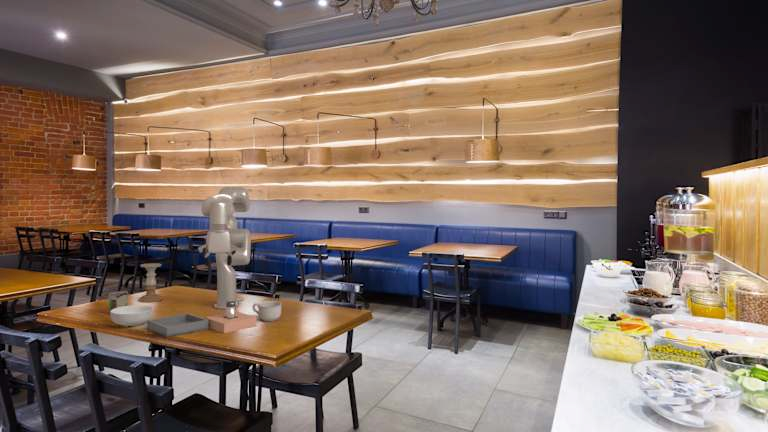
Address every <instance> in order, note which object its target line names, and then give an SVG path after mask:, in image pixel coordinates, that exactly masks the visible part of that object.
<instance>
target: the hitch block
mask: <svg viewBox="0 0 768 432" xmlns="http://www.w3.org/2000/svg"><path fill="white" fill-rule="evenodd" d="M204 319H207V320H208V329H211V330H214V331H217V332H220V333H223V334H227V333H232V332H235V331H240V330H245V329H248V328H253V327H257V323H258V322H257V317H256V316H254V315H252V314H251V315H250V314H247V313H243V312H240V311H238V310H237V311H236V313H235V318H233V319H226V312H225V313H223V314H222V313H221V314H215V315H211V316H210V315H209V316H205V317H204Z"/></svg>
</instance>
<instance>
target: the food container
mask: <svg viewBox="0 0 768 432" xmlns="http://www.w3.org/2000/svg"><path fill="white" fill-rule="evenodd" d="M128 296H129V292H128V290H125V291H124V290H123V291H121V290H120V291H114V292H111V293H108V295H107V300H108V302H109V312H110V311H111V310H112V309H115V308H118V307H124V306H128Z"/></svg>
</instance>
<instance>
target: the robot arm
mask: <svg viewBox="0 0 768 432" xmlns="http://www.w3.org/2000/svg"><path fill="white" fill-rule="evenodd" d="M249 210H250V197H249V192H248V190H247V189H246V188H245V187H242V186H224V187H221V188H220V190H219V192H218V194H214V195H211V196H208V197H206V198H205V199H204V200H203V202H202V205H201V214H202V215H203V216H204V217H205V218H209V231H208V230H207V234H206V238H205V240H206V242H205V244H203V245H201V246H199V247H198V248H197V250H198V252H199V253H200V254H201V256H202V257H203V258H204V259H203V260H204V262H203V263H204V266H205V267H210V263H209V262H210V258H209V256H210V255H211V254H215V262H216V268H217V270H216V272H217V274H216V279H217V280H216V281H217V282H216V283H217V284H216V290H217V292H216V303H214V304H213V308H215V309H220V310H224V309H225V310H226V302H227V301H236V308H238V307H240V304H239V302H243V301H244V300H245V297H243V296H242V297H237V273H236V270H235V269H234V267H232V266H245V265H249V263H250V261H251V251H252V250H251V246H252V243H251V242H252V236H251V232H250V230H249V229H247V228H238V220H237V219H236V217H235V216H234V213H246V212H248V211H249ZM204 249H205V252H204V251H203V250H204Z"/></svg>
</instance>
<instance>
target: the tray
mask: <svg viewBox="0 0 768 432" xmlns="http://www.w3.org/2000/svg"><path fill="white" fill-rule="evenodd" d="M146 323H147V324H146V325H147V327H146V329H147V331H150V332H151V333H154V334H157V335H159V336H161V337H164V338H166V339H169V338H173V337H176V336H177V335H178V336H182V334H183V335H186V334H192V333H196V332H200V331H204V330H208V329H209V328H208V320H207V319H205V317H201V316H198V315H195V314H191V313H188V312H186V313H182V314H176V315H169V316H164V317H158V318H154V319H152V318H151V319H149V320H147V321H146ZM178 336H177V337H178Z"/></svg>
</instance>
